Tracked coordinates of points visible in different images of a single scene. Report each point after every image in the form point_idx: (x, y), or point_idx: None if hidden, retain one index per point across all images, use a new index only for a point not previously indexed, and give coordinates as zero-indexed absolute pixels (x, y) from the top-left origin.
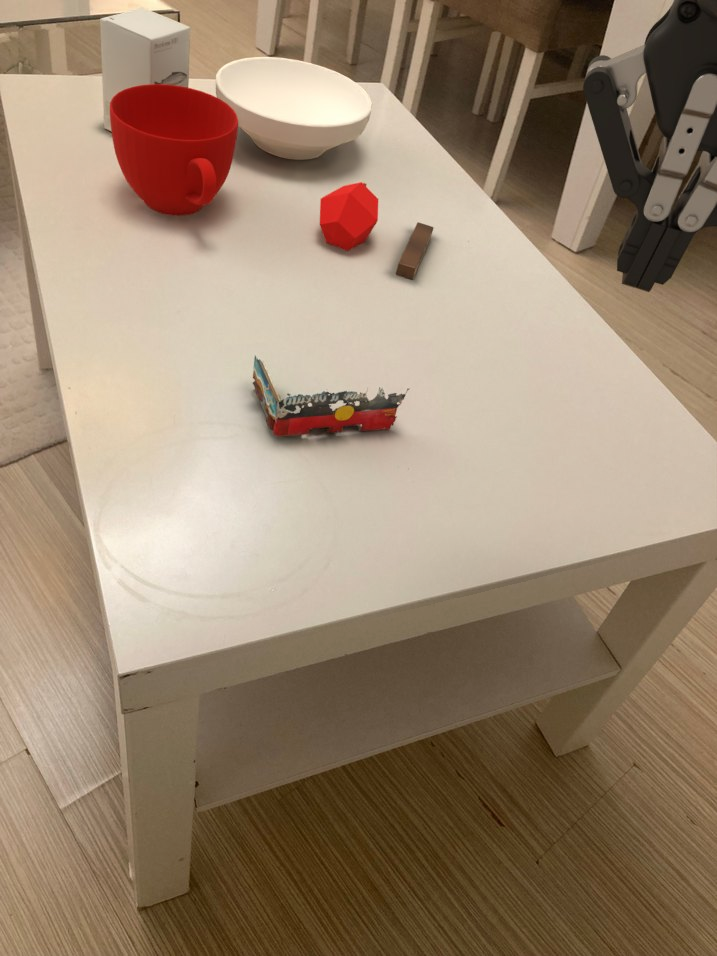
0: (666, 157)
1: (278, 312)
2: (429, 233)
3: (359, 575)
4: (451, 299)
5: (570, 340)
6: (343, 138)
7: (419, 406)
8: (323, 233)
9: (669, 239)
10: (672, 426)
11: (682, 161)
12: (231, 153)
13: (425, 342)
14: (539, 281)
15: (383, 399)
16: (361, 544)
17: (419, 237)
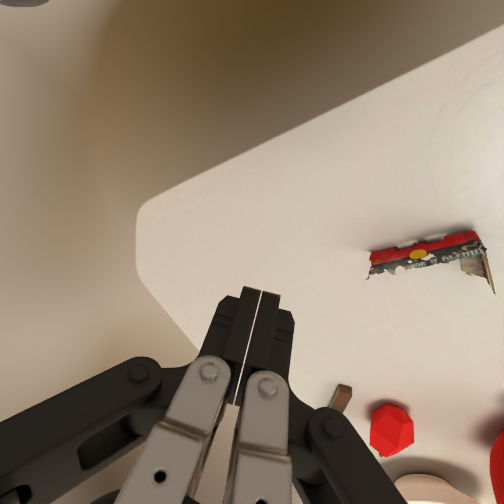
0: (288, 488)
1: (450, 346)
2: None
3: (413, 104)
4: (311, 370)
5: None
6: None
7: (344, 276)
8: (407, 415)
9: (235, 345)
10: (160, 285)
11: (254, 481)
12: (498, 475)
13: (334, 333)
14: None
15: (387, 268)
16: (407, 137)
17: None
